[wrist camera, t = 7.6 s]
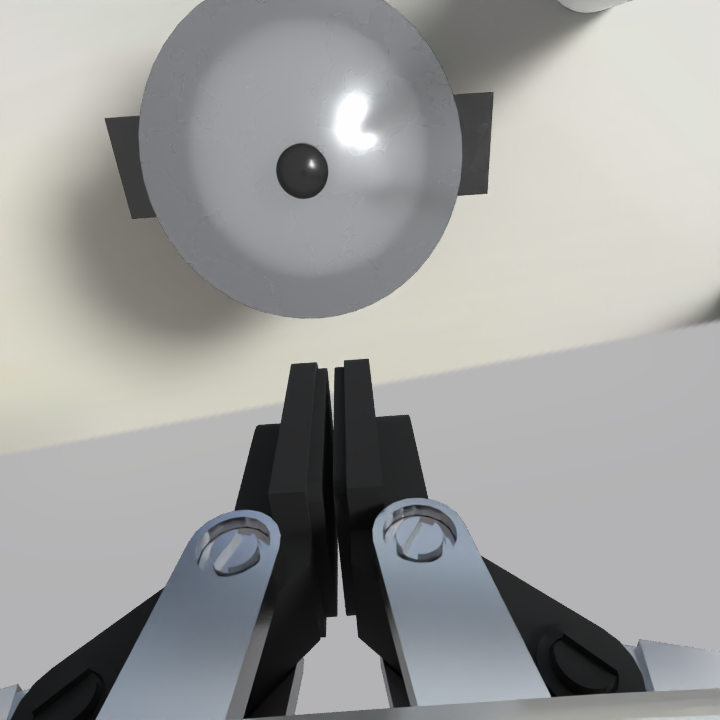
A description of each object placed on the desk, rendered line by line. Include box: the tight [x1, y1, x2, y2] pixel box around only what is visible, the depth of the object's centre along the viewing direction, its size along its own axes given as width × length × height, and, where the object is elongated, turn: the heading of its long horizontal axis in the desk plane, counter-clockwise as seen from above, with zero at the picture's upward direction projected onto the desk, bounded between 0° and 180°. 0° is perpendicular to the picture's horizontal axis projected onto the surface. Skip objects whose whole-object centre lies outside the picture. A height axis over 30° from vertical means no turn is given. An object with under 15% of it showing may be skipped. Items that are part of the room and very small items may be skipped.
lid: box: [139, 0, 462, 318], centre depth 24 cm, size 16×16×3 cm
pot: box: [105, 92, 493, 219], centre depth 29 cm, size 20×16×9 cm
